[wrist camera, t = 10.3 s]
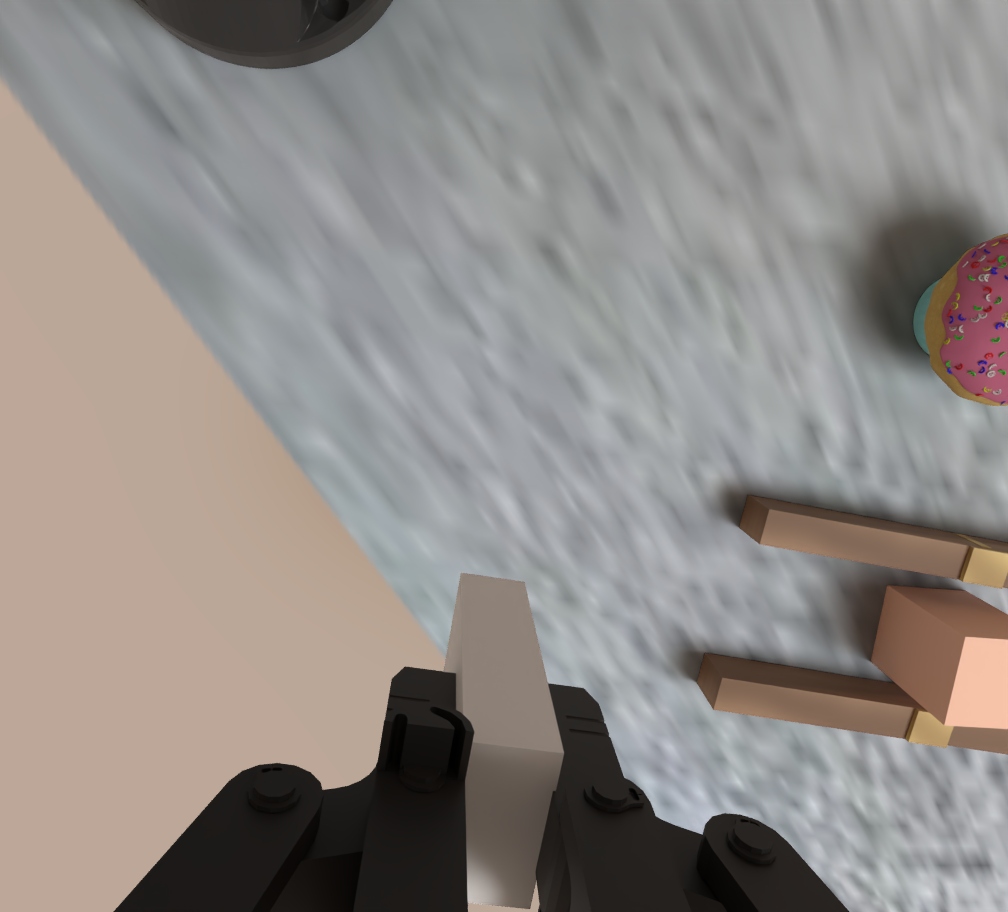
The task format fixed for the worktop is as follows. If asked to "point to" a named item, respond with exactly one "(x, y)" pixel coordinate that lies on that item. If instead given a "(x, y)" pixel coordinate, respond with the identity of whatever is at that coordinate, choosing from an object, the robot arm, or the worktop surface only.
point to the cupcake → (969, 324)
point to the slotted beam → (841, 695)
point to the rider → (946, 654)
